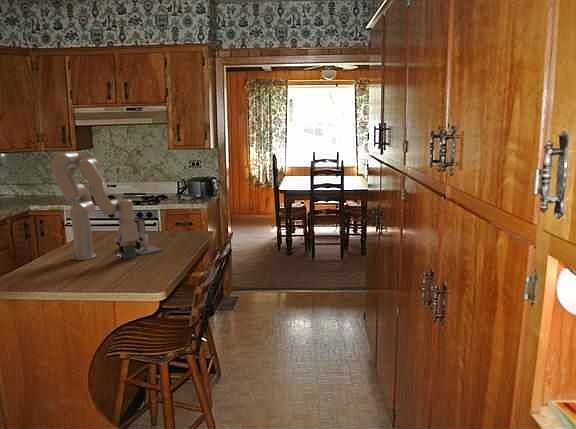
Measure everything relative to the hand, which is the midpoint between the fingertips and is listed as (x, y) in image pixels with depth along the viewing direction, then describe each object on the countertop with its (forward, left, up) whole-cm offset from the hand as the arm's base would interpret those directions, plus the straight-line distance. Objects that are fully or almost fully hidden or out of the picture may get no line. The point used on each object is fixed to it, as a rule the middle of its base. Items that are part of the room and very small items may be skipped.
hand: (130, 250), depth 280 cm
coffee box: (+16, +26, -4) cm, 31 cm away
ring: (-1, +1, -3) cm, 4 cm away
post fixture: (+12, +6, -3) cm, 14 cm away
